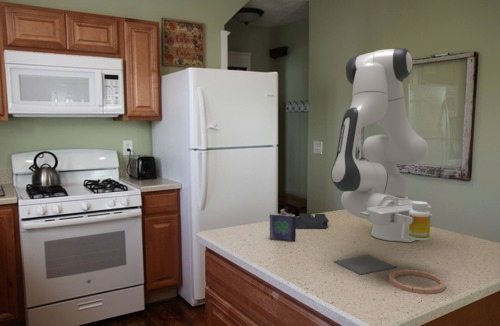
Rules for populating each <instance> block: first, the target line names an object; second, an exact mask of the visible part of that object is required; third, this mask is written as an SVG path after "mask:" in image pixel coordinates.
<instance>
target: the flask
mask: <svg viewBox="0 0 500 326" xmlns="http://www.w3.org/2000/svg"><path fill="white" fill-rule="evenodd" d="M285 210H286V209H285V208H282V209H281V210H279V211H280V213H270V214H269V240H271V241H279V240H280V242H282V241H283V242H291V243H293V242H296V237H297V236H296V234H297V233H296V230H297V229H296V217H297V216H296V215H295V214H292V213H289V212H286V211H285Z"/></svg>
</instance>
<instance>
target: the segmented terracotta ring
mask: <svg viewBox="0 0 500 326" xmlns="http://www.w3.org/2000/svg"><path fill="white" fill-rule="evenodd" d="M404 275H412V276H420V277H422V278H423V277H425V278H428V279H430V280H432V279H433V281H435V282H436V283H437V284H438V286H433V287H418V286H412V285H409V284H405V283H402V282H400V281H398V280H397V279H396V277H398V276H404ZM388 282H389V283H390V284H391V285H392V286H394V287H396V288H398V289H400V290H403V291H407V292H411V293H416V294H422V295H423V294H426V295H427V294H429V295H430V294H437V293H442V292H443V291H444V290H445V289H446V287H447V284H446V282H445V280H444V279H443V278H442V277H440V276H438V275H436V274H433V273H431V272H428V271H427V272H426V271H423V270H416V269H398V270H393V271H392V272H390V273H389V274H388Z"/></svg>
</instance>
